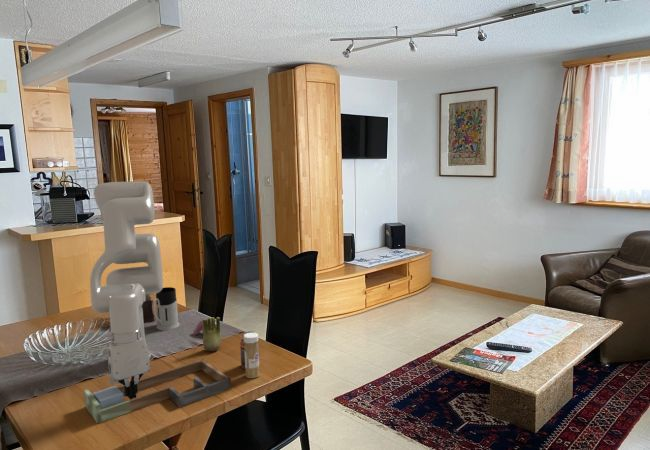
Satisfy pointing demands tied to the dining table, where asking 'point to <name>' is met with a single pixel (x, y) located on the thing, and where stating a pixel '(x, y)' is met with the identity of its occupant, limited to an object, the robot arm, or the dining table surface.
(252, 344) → the sprinkles bottle
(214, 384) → the box
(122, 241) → the robot arm
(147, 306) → the brown storage container
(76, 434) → the dining table surface
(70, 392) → the dining table surface
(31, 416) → the dining table surface
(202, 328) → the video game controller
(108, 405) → the block
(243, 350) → the supplement bottle
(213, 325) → the fennel bulb
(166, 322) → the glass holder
